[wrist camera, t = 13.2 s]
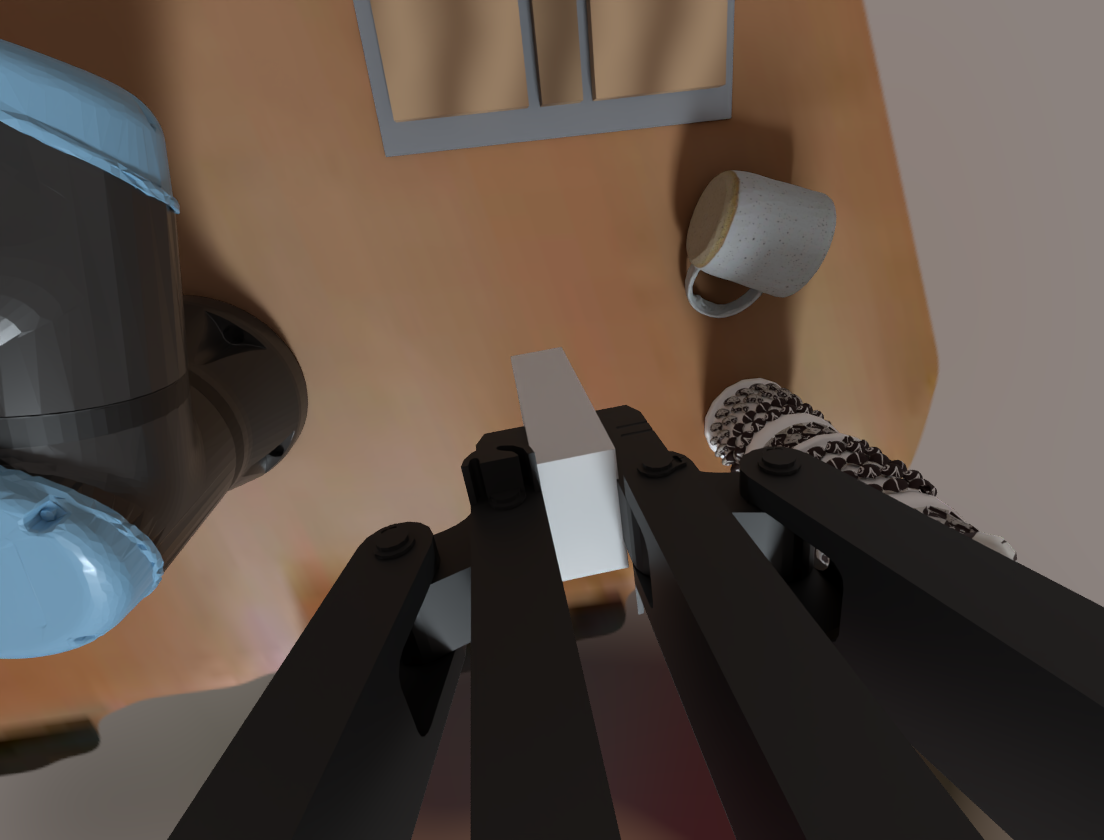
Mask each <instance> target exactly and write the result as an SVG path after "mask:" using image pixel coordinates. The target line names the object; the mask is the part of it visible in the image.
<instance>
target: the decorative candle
mask: <svg viewBox="0 0 1104 840" xmlns="http://www.w3.org/2000/svg"><path fill="white" fill-rule="evenodd" d="M704 434H705V437H706V439H707V442H708V444H709V446H710V448H711V449H712V450H713V451H714V452H715V456H716V457H721V458H723V459H722V464H723V465H727V466H729V465H730V464H732V466H731V472H739V461H740V460H741V458H742V457H743V455H745V454H747V453H748V452H750V451H752V450H755V449H760V448H764V447H769V446H772V447H774V446H782V447H786V448H792V449H797V450H800V451H802V452H805V453H808V454H810V455H812V456H814V457H816V458H818V459H819V460H821V461H823V462H825V463H827V464H829V465H831V466H833V467H835V468H837V469H839V470H841V471H843V472H844V473H846V474H848V475H850V476H852V477H854V478H856V479H858V480H860V481H862V482H864V483H866V484H868V485H869V486H871V487H873V488H875V489H877V490H879V491H881V492H883V493H885V494H887V495H889V496H891V497H893V498H895V499H896V500H898V501H900V502H902V503H904V504H906V505H908V506H910V507H912V508H914V509H916V510H918V511H920V512H921V513H923V514H925V515H927V516H929V517H931V518H933V519H935V520H937V521H939V522H941V523H943V524H945V525H946V526H948V527H950V528H952V529H954V530H956V531H958V532H960V533H962V534H964V535H966V536H968V537H970V538H971V539H973V540H975V541H977V542H979V543H981V544H983V545H985V546H987V547H989V548H991V549H993V550H995V551H996V552H998V553H1000V554H1002V555H1004V556H1006V557H1008V558H1010V559H1012V560H1014V561H1016V562H1017V555H1016V552H1015V551H1014V549H1013V548H1011V546H1010V545H1009V544H1008V543H1007V542H1006V541H1005V540H1004V539H1003V538H1002V537H999V536H994V535H991V534H987V533H983V532H980V531H978V530H977V529H976V528H974V527H973V526H972V525H970V524H967V523H966V522H965V521H964V520H963V518H962V517H961V516H960V515H959V514H958V513H957V512H956V511H955V510H954V509H953V508H951V507H950V506H949V505H947V504H946V503H944V502H943V501H941V500H940V499H938V498H937V497H936V494H937V490H936V488H935V487H934V486H933V485H932V484H931V483H930V482H929V481H927V480H925V479H923V478H922V475H921V473H919V472H918V471H915V470H908V471H907V468H906V465H905V464H904V463H903V462H902V461H900V460H894V461H891V460H889V458H888V457H887V456H886V455H884V454H882V452H881V450H880V449H879V448H877V447H869V444H868V442H867V441H865V440H862V441H861V440H860V439H858V438H855V437H852V436H849V435H845V434H842V433H839V432H838V431H837V430H836V429H835V428H834V427H833V426H832V425H831V423H830V422H829V421H826V420H824V416H823V414H822V413H821V412H820V411H818V410H815V411H813V409H812V407H811V406H810V405H809V404H807V403H804V404H803V403H802V400H801V399H800V398H799V397H798V396H797V395H795V394H792V393H791V392H790V391H789V390H788V389H786V388H781V387H780V386H779V385H778V384H777V383H775V382H772V381H769V380H766V379H763V378H754V379H745V380H741V381H739V382H737V383H735V384H733V385H731V386H729V387H727V388H726V389H725V390H724V391H723V392H722V393H721V394H720V395H719V396H718V397H717V398H716V399H715V400H714V401H713V402H712V404H711V406H710V408H709V410H708V413H707V415H706V417H705V430H704ZM902 477H903V479H901V478H902ZM918 489H920V490H921V491H922V493H921V492H920V491H918ZM814 557H815V558H816V559H817V560H819V561H820V562H822V563H823V564H825V565H827V566H828V565H829V558H828V557H827V556H826V555H825V554H823V553H822V552H820V551H819V550H817V549H816V548H815V551H814Z"/></svg>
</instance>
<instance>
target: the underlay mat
mask: <svg viewBox="0 0 1104 840" xmlns="http://www.w3.org/2000/svg"><path fill="white" fill-rule="evenodd" d="M734 1H735V0H728V7H727V49H726V85H723V86H720V87H718V88H709V89H700V90H691V91H682V92H673V93H664V94H654V95H645V96H636V97H627V98H618V99H609V100H600V101H593V99H592V83H591V68H590V52H589V37H588V21H587V6H586V0H576V2H577V17H578V31H579V45H580V59H581V73H582V87H583V101H581V102H580V103H574V104H564V105H555V106H546V107H540V102H539V92H538V82H537V72H536V62H535V52H534V42H533V32H532V22H531V12H530V2H529V0H518V7H519V17H520V26H521V35H522V45H523V54H524V63H525V73H526V82H527V92H528V101H529V107H528V108H525V109H516V110H507V111H498V112H489V113H479V114H470V115H461V116H452V117H442V118H433V119H424V120H415V121H406V122H396V121H394V118H393V113H392V108H391V103H390V98H389V93H388V88H387V83H386V78H385V73H384V68H383V63H382V58H381V53H380V48H379V43H378V38H377V33H376V28H375V23H374V18H373V13H372V8H371V3H370V0H353V2H354V7H355V12H356V16H357V21H358V26H359V31H360V36H361V40H362V45H363V50H364V55H365V59H366V64H367V69H368V74H369V78H370V83H371V88H372V93H373V98H374V102H375V107H376V112H377V117H378V121H379V126H380V131H381V136H382V141H383V145H384V150H385V155H386V157H390V156H399V155H408V154H417V153H426V152H435V151H444V150H453V149H462V148H471V147H480V146H489V145H498V144H507V143H516V142H525V141H534V140H543V139H552V138H561V137H570V136H578V135H587V134H596V133H605V132H614V131H623V130H632V129H641V128H650V127H659V126H668V125H677V124H686V123H695V122H704V121H713V120H722V119H730V118H731V109H732V73H733V37H734Z"/></svg>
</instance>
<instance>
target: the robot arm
mask: <svg viewBox="0 0 1104 840" xmlns="http://www.w3.org/2000/svg"><path fill="white" fill-rule="evenodd" d="M179 213H180V206H179V203H178V201H177V200H176V199H175V198H174V197H173V193H172V186H171V179H170V172H169V165H168V158H167V151H166V144H165V138H164V134H163V131H162V128H161V126H160V124H159V122H158V120H157V119H156V117H155V116H154V114H153V113H152V112H151V111H150V109H149V108H148V107H147V106H146V105H145V104H144V103H143V102H142V101H140V100H139V99H138V98H137V97H135V96H134V95H133V94H131V93H130V92H128V91H126V90H125V89H123V88H121V87H120V86H118V85H116V84H114V83H112V82H110V81H108V80H106V79H104V78H101V77H99V76H97V75H95V74H92V73H90V72H88V71H85V70H83V69H80V68H78V67H75V66H73V65H70V64H67V63H65V62H62V61H60V60H57V59H55V58H52V57H49V56H47V55H44V54H41V53H39V52H36V51H33V50H30V49H28V48H25V47H22V46H19V45H17V44H14V43H11V42H8V41H5V40H3V39H0V659H19V658H33V657H41V656H47V655H52V654H58V653H62V652H66V651H69V650H72V649H75V648H78V647H81V646H83V645H85V644H88V643H90V642H92V641H94V640H95V639H97V638H98V637H99V636H102V635H104V634H105V633H106V632H108V631H109V630H111V629H112V628H114V627H115V626H116V625H117V624H118V623H119V622H121V621H122V620H123V618H124V617H125V616H126V615H127V614H128V613H129V612H130V611H131V610H132V609H133V608H134V607H135V606H136V605H137V604H138V603H139V602H140V601H141V600H142V599H143V598H144V597H146V596H148V595H149V594H151V593H152V592H153V590H155V588H156V587H157V586H158V584H159V582H160V581H161V580H162V578H161V576H162V575H163V574H164V572H165V570H166V569H167V568H168V566H169V565H170V564H171V563H172V561H173V560H174V559H175V558H176V556H177V555H178V554H179V552H180V551H181V550H182V549H183V547H184V546H185V545H186V544H187V542H188V541H189V540H190V538H191V537H192V536H193V535H194V533H195V532H196V531H197V530H198V528H199V527H200V526H201V525H202V523H203V522H204V521H205V519H206V518H207V517H208V516H209V514H210V513H211V512H212V511H213V509H214V508H215V507H216V505H217V504H218V503H219V502H220V500H221V499H222V498H223V496H224V495H225V494H226V493H227V491H229V490H232V489H234V488H236V487H238V486H241V485H243V484H245V483H247V482H250V481H252V480H254V479H256V478H258V477H260V476H262V475H264V474H265V473H267V472H268V471H270V470H271V469H272V468H274V467H275V466H276V465H277V464H278V463H279V462H280V461H281V460H282V459H283V458H284V457H285V456H286V455H287V453H288V452H289V450H290V449H291V448H292V446H293V445H294V443H295V442H296V440H297V439H298V437H299V435H300V434H301V431H302V429H303V427H304V424H305V420H306V416H307V408H308V396H307V389H306V384H305V380H304V377H303V374H302V371H301V369H300V367H299V365H298V363H297V361H296V359H295V357H294V356H293V354H292V353H291V351H290V350H289V348H288V347H287V346H286V344H285V343H284V342H283V341H282V340H281V339H280V338H279V337H278V335H277V334H276V333H274V332H273V331H272V330H271V329H270V328H269V327H268V326H266V325H265V324H264V323H263V322H261V321H260V320H258V319H257V318H255V317H254V316H252V315H251V314H249V313H247V312H245V311H243V310H241V309H239V308H237V307H235V306H232V305H230V304H227V303H225V302H221V301H218V300H214V299H210V298H205V297H199V296H188V295H183V294H182V282H181V270H180V258H179V246H178V234H177V222H176V214H179ZM511 361H512V367H513V372H514V377H515V382H516V388H517V393H518V398H519V403H520V409H521V414H522V419H523V424H524V426H523V427H517V428H512V429H507V430H502V431H497V432H492V433H487V434H484V435H483V437H482V438H481V439H480V441H479V442H478V443H477V445H476V451H475V452H473V453H471V454H470V455H469V456H468V457H467V458H465V459H464V461H463V463H462V466H461V469H462V473H463V477H464V481H465V485H466V489H467V493H468V497H469V501H470V505H471V514H470V515H469V516H468V517H467V518H466V519H465V520H463V521H462V522H460V523H459V524H457V525H455V526H453V527H451V528H449V529H447V530H445V531H442V532H440V533H438V534H435V535H433V533H432V531H431V530H430V528H429V527H428V526H426V525H424V524H422V523H418V522H404V523H398V524H393V525H389V526H388V527H384V528H382V529H380V530H378V531H377V532H375V533H374V534H372V535H371V536H369V537H368V538H366V539H365V541H364V542H363V543H362V544H361V545H360V546H359V547H358V548H357V550H356V551H355V553H354V555H353V556H352V558H351V559H350V561H349V562H348V564H347V565H346V567H345V568H344V570H343V571H342V573H341V574H340V576H339V577H338V579H337V581H336V582H335V584H334V585H333V587H332V588H331V590H330V591H329V593H328V594H327V596H326V597H325V599H324V600H323V602H322V604H321V605H320V607H319V608H318V610H317V611H316V613H315V614H314V616H313V617H312V619H311V620H310V622H309V623H308V625H307V626H306V628H305V630H304V631H303V633H302V634H301V636H300V637H299V639H298V640H297V642H296V643H295V645H294V646H293V648H292V649H291V651H290V653H289V654H288V656H287V657H286V659H285V660H284V662H283V663H282V665H281V666H280V668H279V669H278V671H277V672H276V674H275V675H274V677H273V679H272V680H271V682H270V683H269V685H268V686H267V688H266V689H265V691H264V692H263V694H262V696H261V697H260V698H259V700H258V702H257V703H256V705H255V706H254V708H253V709H252V711H251V712H250V714H249V715H248V717H247V718H246V720H245V721H244V723H243V724H242V726H241V728H240V729H239V731H238V732H237V734H236V736H235V737H234V738H233V740H232V741H231V743H230V744H229V746H228V748H227V749H226V751H225V752H224V754H223V755H222V757H221V758H220V760H219V761H218V763H217V764H216V766H215V767H214V769H213V770H212V772H211V774H210V775H209V777H208V778H207V780H206V781H205V783H204V784H203V786H202V787H201V789H200V790H199V792H198V793H197V795H196V797H195V798H194V800H193V801H192V803H191V804H190V806H189V807H188V809H187V810H186V812H185V813H184V815H183V816H182V818H181V819H180V821H179V823H178V824H177V826H176V827H175V829H174V830H173V832H172V833H171V835H170V836H169V838H168V839H167V840H411V837H412V834H413V831H414V827H415V824H416V821H417V818H418V814H419V811H420V807H421V804H422V801H423V797H424V793H425V790H426V787H427V783H428V780H429V777H430V774H431V770H432V767H433V764H434V760H435V757H436V753H437V750H438V747H439V743H440V740H441V737H442V733H443V730H444V727H445V723H446V720H447V716H448V713H449V710H450V706H451V703H452V699H453V696H454V693H455V689H456V686H457V683H458V679H459V676H460V673H461V669H462V666H463V663H464V659H465V655H466V644H468V643H470V642H471V840H621V838H620V834H619V829H618V824H617V820H616V816H615V811H614V807H613V802H612V798H611V794H610V789H609V785H608V781H607V777H606V772H605V767H604V764H603V759H602V754H601V750H600V745H599V741H598V736H597V732H596V728H595V723H594V719H593V715H592V710H591V706H590V701H589V697H588V692H587V688H586V684H585V680H584V675H583V670H582V666H581V662H580V657H579V653H578V648H577V644H576V639H575V635H574V631H573V626H572V622H571V617H570V613H569V609H568V604H567V600H566V595H565V591H564V587H563V582H562V581H566V580H571V579H575V578H580V577H585V576H589V575H594V574H599V573H604V572H608V571H613V570H618V569H622V568H627V567H629V564H628V556H627V550H628V552H629V555H630V557H631V560H632V562H633V569H634V578H635V587H636V595H637V605H638V614H642V613H644V608H645V610H646V613H647V615H648V618H649V620H650V623H651V625H652V628H653V630H654V633H655V636H656V638H657V640H658V643H659V646H660V648H661V651H662V653H663V656H664V658H665V661H666V663H667V666H668V668H669V671H670V673H671V676H672V678H673V681H674V683H675V686H676V688H677V691H678V693H679V695H680V699H681V701H682V704H683V706H684V708H685V711H686V714H687V716H688V719H689V721H690V724H691V726H692V728H693V731H694V734H695V736H696V739H697V741H698V744H699V746H700V749H701V751H702V754H703V756H704V759H705V762H706V764H707V766H708V769H709V771H710V774H711V777H712V779H713V782H714V784H715V787H716V789H717V792H718V794H719V797H720V799H721V802H722V804H723V807H724V809H725V812H726V814H727V817H728V819H729V822H730V825H731V827H732V830H733V832H734V835H735V837H736V840H984V839H983V837H982V836H981V835H980V833H979V832H978V831H977V830H976V828H975V827H974V826H973V825H972V823H971V822H970V821H969V819H968V818H967V817H966V815H965V814H964V813H963V811H962V810H961V809H960V808H959V806H958V805H957V804H956V803H955V801H954V800H953V799H952V797H951V796H950V795H949V793H948V792H947V791H946V790H945V788H944V787H943V786H942V785H941V783H940V782H939V780H938V779H937V778H936V776H935V775H934V774H933V773H932V771H931V770H930V769H929V767H928V766H927V765H926V764H925V762H924V761H923V760H922V758H921V757H920V756H919V754H918V753H917V752H916V751H915V749H916V750H918V751H919V752H920V753H921V754H922V755H923V756H924V757H925V758H926V759H927V760H928V761H929V762H930V763H932V764H933V765H934V766H935V767H936V768H937V769H938V770H939V771H940V772H941V773H942V774H943V775H944V776H946V777H947V778H948V779H949V780H950V781H951V782H952V783H953V784H954V785H955V786H956V787H957V788H959V789H960V790H961V791H962V792H963V793H964V794H965V795H966V796H967V797H968V798H969V799H970V800H972V801H973V802H974V803H975V804H976V805H977V806H978V807H979V808H980V809H981V810H982V811H984V813H986V814H987V815H988V816H989V817H990V818H991V819H992V820H993V821H994V822H995V823H996V824H997V825H998V826H1000V827H1001V828H1002V829H1003V830H1004V831H1005V832H1006V833H1007V834H1008V835H1009V836H1010V837H1011V838H1013V839H1014V840H1104V607H1102V606H1100V605H1098V604H1096V603H1094V602H1093V601H1091V600H1089V599H1087V598H1085V597H1083V596H1081V595H1079V594H1077V593H1075V592H1073V591H1071V590H1070V589H1067V588H1066V587H1063V586H1062V585H1060V584H1058V583H1056V582H1054V581H1052V580H1050V579H1048V578H1046V577H1045V576H1043V575H1041V574H1039V573H1037V572H1035V571H1033V570H1031V569H1029V568H1027V567H1025V566H1023V565H1021V564H1019V563H1018V562H1016V561H1014V560H1012V559H1010V558H1008V557H1006V556H1004V555H1002V554H1000V553H998V552H996V551H995V550H993V549H991V548H989V547H987V546H985V545H983V544H981V543H979V542H977V541H975V540H973V539H971V538H970V537H968V536H966V535H964V534H962V533H960V532H958V531H956V530H954V529H952V528H950V527H948V526H946V525H945V524H943V523H941V522H939V521H937V520H935V519H933V518H931V517H929V516H927V515H925V514H923V513H921V512H920V511H918V510H916V509H914V508H912V507H910V506H908V505H906V504H904V503H902V502H900V501H898V500H896V499H895V498H893V497H891V496H889V495H887V494H885V493H883V492H881V491H879V490H877V489H875V488H873V487H871V486H869V485H868V484H866V483H864V482H862V481H860V480H858V479H856V478H854V477H852V476H850V475H848V474H846V473H844V472H843V471H841V470H839V469H837V468H835V467H833V466H831V465H829V464H827V463H825V462H823V461H821V460H819V459H818V458H816V457H814V456H812V455H810V454H808V453H805V452H802V451H800V450H797V449H792V448H786V447H782V446H774V447H772V446H769V447H764V448H760V449H755V450H752V451H750V452H748V453H747V454H745V455H743V457H742V458H741V460H740V461H739V472H730V473H712V472H702V471H699V469H698V468H697V467H696V466H695V464H694V463H693V462H692V461H691V460H690V459H689V458H687V457H686V456H685V455H682V454H679V453H676V452H673V451H668V450H667V448H666V447H665V445H664V444H663V443H662V441H661V440H660V439H659V437H658V436H657V434H656V433H655V432H654V431H653V430H652V427H651V426H650V425H649V423H647V421H646V419H645V418H644V416H643V415H642V414H641V412H640V411H638V410H636V409H634V408H631V407H629V406H627V405H623V406H618V407H613V408H607V409H602V410H597V411H595V410H594V408H593V406H592V404H591V402H590V400H589V398H588V396H587V394H586V393H585V391H584V389H583V387H582V385H581V383H580V381H579V379H578V377H577V376H576V374H575V372H574V370H573V368H572V366H571V364H570V362H569V360H568V359H567V357H566V355H565V353H564V351H563V349H562V347H559V348H554V349H548V350H543V351H538V352H532V353H527V354H521V355H516V356H511ZM815 548H816V549H817V550H819V551H820V552H822V553H823V554H825V555H826V556H827V557H828V558H829V565H828V566H827V565H825V564H823V563H822V562H820V561H819V560H817V559H816V558H815V557H814V551H815ZM912 746H913V747H914V748H915V749H914V748H913V747H912Z"/></svg>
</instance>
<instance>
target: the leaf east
mask: <svg viewBox="0 0 1104 840" xmlns="http://www.w3.org/2000/svg"><path fill="white" fill-rule="evenodd" d="M586 6H587V21H588V37H589V52H590V68H591V83H592V99H593V101H600V100H609V99H618V98H627V97H636V96H645V95H654V94H664V93H673V92H682V91H691V90H700V89H709V88H718V87H720V86H723V85H726V49H727V7H728V0H586Z"/></svg>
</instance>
